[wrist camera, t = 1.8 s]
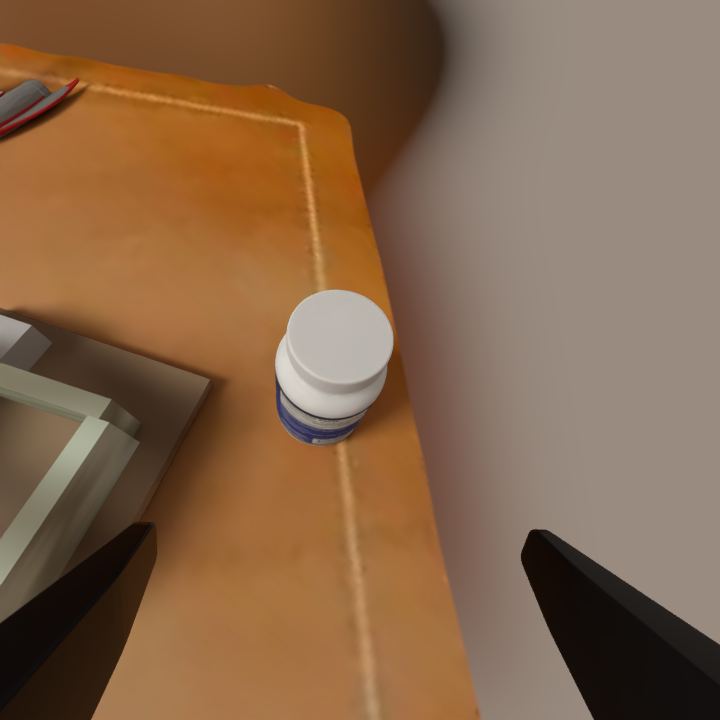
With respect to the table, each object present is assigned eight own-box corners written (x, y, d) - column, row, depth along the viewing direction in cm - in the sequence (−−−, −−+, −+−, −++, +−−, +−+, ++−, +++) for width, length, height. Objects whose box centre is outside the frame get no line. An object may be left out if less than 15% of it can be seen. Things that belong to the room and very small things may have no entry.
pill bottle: (305, 354, 25) (320, 258, 16) (374, 394, 25) (426, 319, 16) (258, 420, 22) (245, 347, 13) (334, 465, 22) (371, 421, 13)
